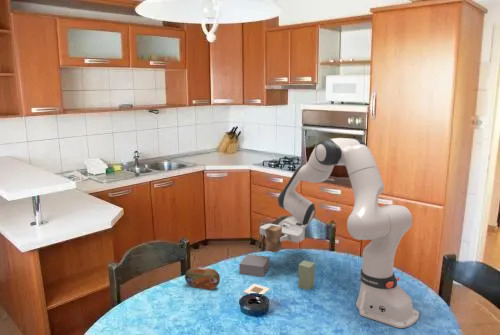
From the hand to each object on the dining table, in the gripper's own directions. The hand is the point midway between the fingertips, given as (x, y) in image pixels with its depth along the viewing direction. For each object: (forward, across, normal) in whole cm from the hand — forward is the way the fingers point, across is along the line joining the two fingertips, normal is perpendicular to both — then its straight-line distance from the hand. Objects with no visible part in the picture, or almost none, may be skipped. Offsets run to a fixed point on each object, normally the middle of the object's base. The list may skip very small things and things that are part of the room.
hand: (272, 238), depth 180 cm
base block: (0, -10, +18) cm, 20 cm away
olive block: (+2, +17, +17) cm, 24 cm away
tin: (+24, -20, +18) cm, 36 cm away
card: (+15, +1, +17) cm, 23 cm away
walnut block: (-1, 0, +6) cm, 6 cm away
